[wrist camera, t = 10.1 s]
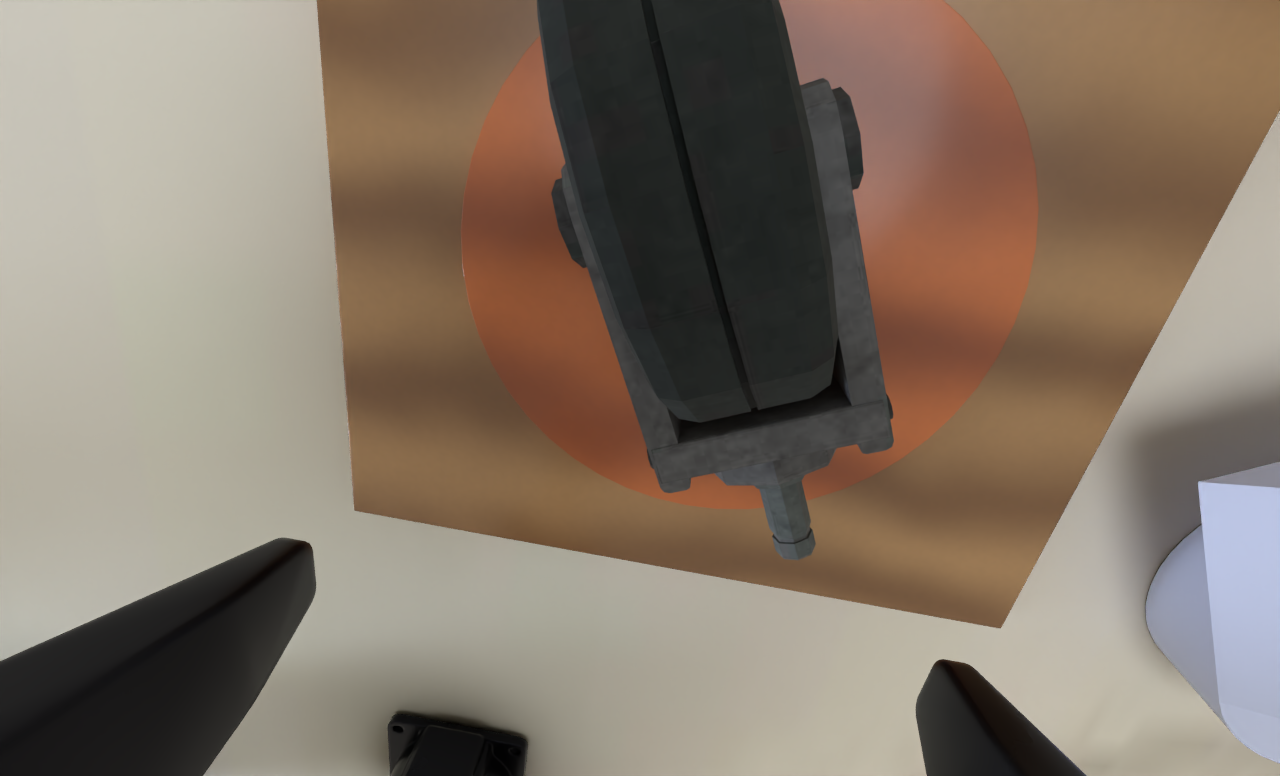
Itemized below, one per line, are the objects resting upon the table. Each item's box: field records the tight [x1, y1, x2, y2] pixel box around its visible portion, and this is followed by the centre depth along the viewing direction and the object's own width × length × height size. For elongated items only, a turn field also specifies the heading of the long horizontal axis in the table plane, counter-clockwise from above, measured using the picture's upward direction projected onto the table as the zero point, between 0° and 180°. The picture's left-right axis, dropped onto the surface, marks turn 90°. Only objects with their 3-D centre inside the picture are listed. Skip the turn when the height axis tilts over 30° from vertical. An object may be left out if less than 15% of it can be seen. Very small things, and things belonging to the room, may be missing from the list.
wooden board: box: [317, 0, 1280, 628], centre depth 17 cm, size 22×24×1 cm
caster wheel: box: [537, 0, 894, 560], centre depth 13 cm, size 6×10×15 cm
